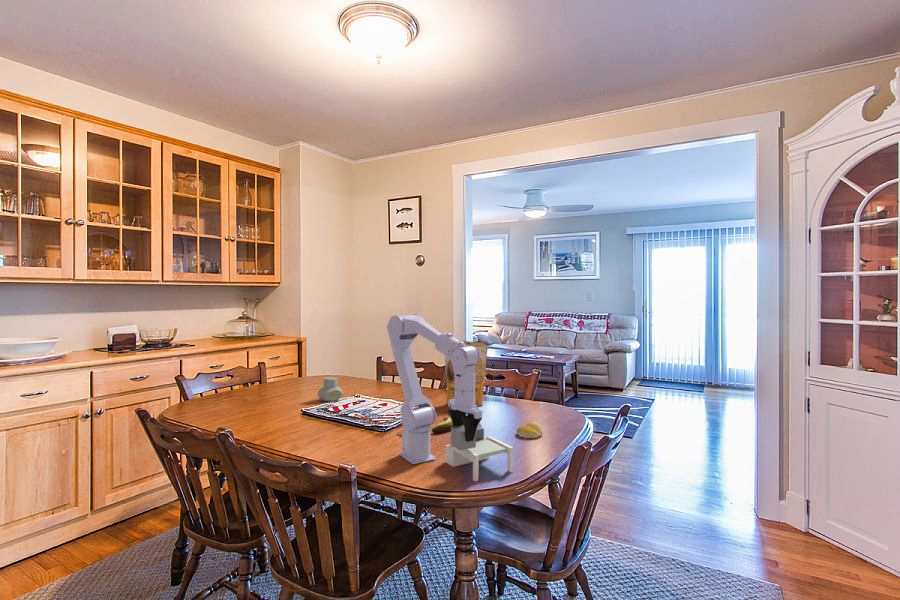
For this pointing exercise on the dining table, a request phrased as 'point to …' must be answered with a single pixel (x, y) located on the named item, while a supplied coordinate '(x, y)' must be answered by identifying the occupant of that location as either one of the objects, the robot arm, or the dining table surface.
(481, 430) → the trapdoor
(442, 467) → the dining table surface
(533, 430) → the bread roll
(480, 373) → the pancake mix bag
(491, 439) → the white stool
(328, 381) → the air freshener
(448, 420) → the yellow and brown crescent
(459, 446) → the grey cube
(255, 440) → the dining table surface
